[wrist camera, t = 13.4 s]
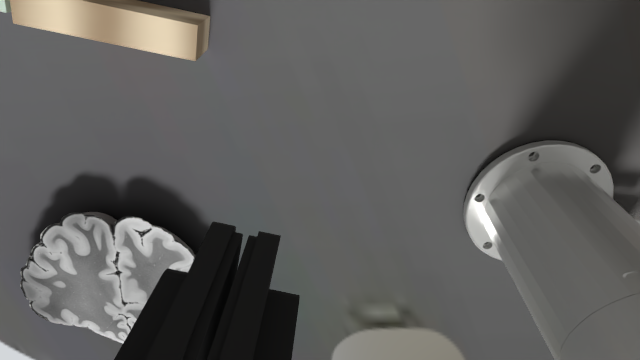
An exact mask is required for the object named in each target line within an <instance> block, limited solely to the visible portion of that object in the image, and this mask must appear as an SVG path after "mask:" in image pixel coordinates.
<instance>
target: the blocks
mask: <svg viewBox="0 0 640 360" xmlns="http://www.w3.org/2000/svg"><path fill="white" fill-rule="evenodd" d="M10 5H11V12H12V18H13V23H14V24H19V25H24V26H29V27H34V28H38V29H43V30H48V31H53V32H58V33H62V34H67V35H72V36H77V37H82V38H87V39H91V40H96V41H101V42H106V43H111V44H115V45H120V46H125V47H130V48H135V49H140V50H144V51H149V52H154V53H159V54H164V55H169V56H173V57H178V58H183V59H188V60H193V61H196V60H197V59H198V58H199V57H200V56H201V55H202V54H203V53H204V52H205V51H206V50H207V49H208V40H209V27H210V16H207V15H203V14H198V13H194V12H189V11H184V10H180V9H175V8H171V7H166V6H161V5H157V4H152V3H148V2H143V1H138V0H10Z"/></svg>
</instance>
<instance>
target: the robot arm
mask: <svg viewBox="0 0 640 360" xmlns="http://www.w3.org/2000/svg"><path fill="white" fill-rule="evenodd" d="M613 194H614V184H613V180H612V176H611V173H610V172H609V170H608V168H607V166H606V165H605V164H604V163H603V162H602V161H601V160H600V159H599V158H598V157H597V156H596V155H595V154H593V153H592V152H591V151H589V150H588V149H587V148H585V147H582V146H580V145H578V144H575V143H571V142H566V141H554V140H546V141H539V142H533V143H529V144H526V145H523V146H520V147H517V148H515V149H513V150H511V151H508V152H506V153H504V154H503V155H501V156H500V157H498V158H497V159H495V160H494V161H492V162H491V163H490V164H489V165H488V166H487V167H486V168H485V169H484V170H482V171H481V172H480V174H479V175H478V176H477V178H476V179H475V180H474V182H473V183H472V185H471V187H470V189H469V191H468V193H467V195H466V199H465V202H464V211H463V217H464V222H465V226H466V229H467V231H468V233H469V236H470V237H471V239H472V240H473V242H474V244H475V245H476V246H477V247H478V248H479V249H480V250H481V251H483V252H484V253H486V254H488V255H489V256H491V257H493V258H496V259H499V260H502V261H503V262H504V264H505V266H506V268H507V270H508V272H509V274H510V276H511V277H512V279H513V281H514V283H515V285H516V287H517V289H518V291H519V293H520V294H521V296H522V298H523V300H524V302H525V304H526V306H527V308H528V310H529V311H530V313H531V315H532V317H533V319H534V321H535V323H536V325H537V327H538V328H539V330H540V332H541V334H542V336H543V338H544V340H545V342H546V344H547V345H548V347H549V349H550V351H551V353H552V355H553V357H554V359H555V360H640V217H638V216H632V215H629V214H628V213H627V212H626V211H625V210H624V209H623V208H622V207H621V206H620V205H619V204H618V203H617V202H616V201H615V200H614V199H613ZM235 230H236V227H235V226H232V225H227V224H223V223H218V222H213V223H212V224H211V226H210V228H209V230H208V232H207V234H206V236H205V239H204V241H203V243H202V245H201V247H200V249H199V251H198V253H197V255H196V257H195V259H194V261H193V263H192V265H191V267H190V269H189V271H188V272H183V271H178V270H174V269H169V268H167V269H166V270H165V271H164V272H163V274H162V276H161V277H160V279H159V281H158V283H157V284H156V286H155V288H154V290H153V291H152V293H151V295H150V297H149V299H148V300H147V302H146V304H145V306H144V307H143V309H142V311H141V313H140V315H139V316H138V318H137V320H136V322H135V323H134V325H133V327H132V329H131V331H130V332H129V334H128V336H127V338H126V339H125V341H124V343H123V345H122V347H121V348H120V350H119V352H118V354H117V355H116V357H115V359H114V360H291V358H292V350H293V343H294V335H295V328H296V321H297V313H298V306H299V295H295V294H290V293H286V292H281V291H276V290H271V289H269V287H270V282H271V278H272V273H273V269H274V264H275V259H276V255H277V250H278V246H279V241H280V236H279V235H274V234H270V233H265V232H260V231H259V233H258V236H257V237H255V236H250V235H249V237H248V240H247V243H246V246H245V249H244V252H243V255H242V258H241V261H240V264H239V267H238V262H239V255H240V249H241V243H242V237H243V234H241V233H236V232H235ZM237 268H238V270H237Z"/></svg>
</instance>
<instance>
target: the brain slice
mask: <svg viewBox="0 0 640 360" xmlns="http://www.w3.org/2000/svg"><path fill="white" fill-rule="evenodd" d="M40 240H41V242H39V243H38V244H37V245H35V246H34V247H33V248H32V251H31V254H30V256H29V258H28V259H27V262H26V266H25V267H23V268H21V272H20V273H21V277H22V280H21V283H20V286H21V289H22V291H23V293H24V295H25V297H26V299H28V300H30V304H29V305H30V307H31V308H32V310H33V311H34V312H35V313H36V314H37V315H39V316H40V317H42V318H43V319H45V320H47V321H50V322H53V323H60V324H63V325H74V326H79V327H84V328H88V329H90V330H92V331H94V332H96V333H98V334H100V335H103V336H106V337H109V338H110V339H112V340H114V341H117V342H120V343H124V341H125V339H126V338H127V336H128V334H129V332H130V331H131V329H132V327H133V325H134V323H135V322H136V320H137V318H138V316H139V315H140V313H141V311H142V309H143V307H144V306H145V304H146V302H147V300H148V299H149V297H150V295H151V293H152V291H153V290H154V288H155V286H156V284H157V283H158V281H159V279H160V277H161V276H162V274H163V272H164V271H165V270H166V269H167V268H169V269H174V270H178V271H183V272H188V271H189V269H190V267H191V265H192V263H193V261H194V259H195V257H196V255H195V254H194V253H193V251H192V249H191V248H190V247H189V246H188V245H187V244H185V243H184V242H183V241H182V240H181V239H180V238H179V237H177V236H176V235H175V234H173V233H172V232H170V231H168V230H166V229H165V228H162V227H160V226H156V225H151V224H150V223H149V222H147V221H146V220H144V219H142V218H138V217H135V216H125V217H122V218H121V219H119V220H116V219H114V218H113V217H112V216H109V215H107V214H104V213H100V212H85V213H79V212H73V213H70V214H67V215H65V216H63V217H62V219H61V221H60V223H56V224H52V225H49V226H47V227H46V228H45V230H44V231H43V232H42V233H41V235H40Z"/></svg>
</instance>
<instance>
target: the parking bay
mask: <svg viewBox="0 0 640 360" xmlns="http://www.w3.org/2000/svg"><path fill="white" fill-rule="evenodd" d="M0 12H5V13H8V12H11V5H10V0H0Z"/></svg>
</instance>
